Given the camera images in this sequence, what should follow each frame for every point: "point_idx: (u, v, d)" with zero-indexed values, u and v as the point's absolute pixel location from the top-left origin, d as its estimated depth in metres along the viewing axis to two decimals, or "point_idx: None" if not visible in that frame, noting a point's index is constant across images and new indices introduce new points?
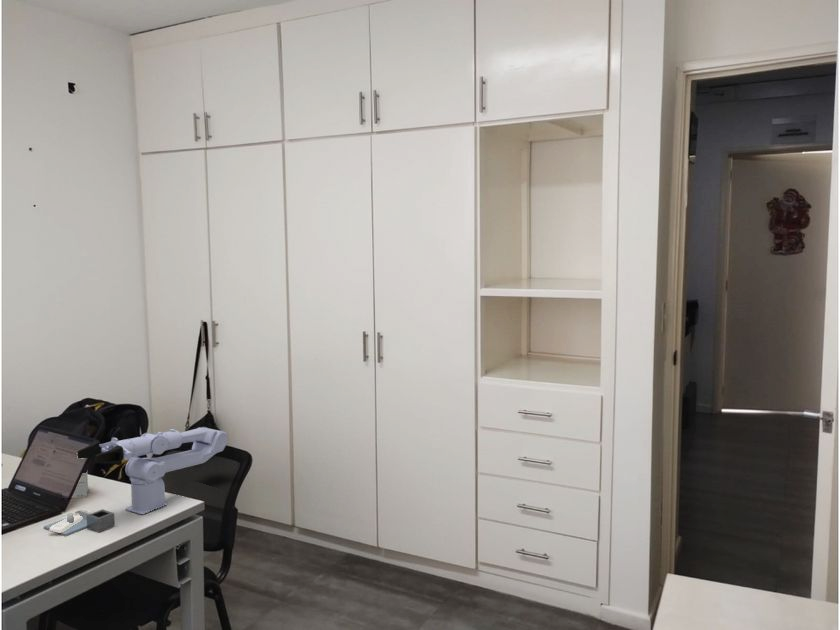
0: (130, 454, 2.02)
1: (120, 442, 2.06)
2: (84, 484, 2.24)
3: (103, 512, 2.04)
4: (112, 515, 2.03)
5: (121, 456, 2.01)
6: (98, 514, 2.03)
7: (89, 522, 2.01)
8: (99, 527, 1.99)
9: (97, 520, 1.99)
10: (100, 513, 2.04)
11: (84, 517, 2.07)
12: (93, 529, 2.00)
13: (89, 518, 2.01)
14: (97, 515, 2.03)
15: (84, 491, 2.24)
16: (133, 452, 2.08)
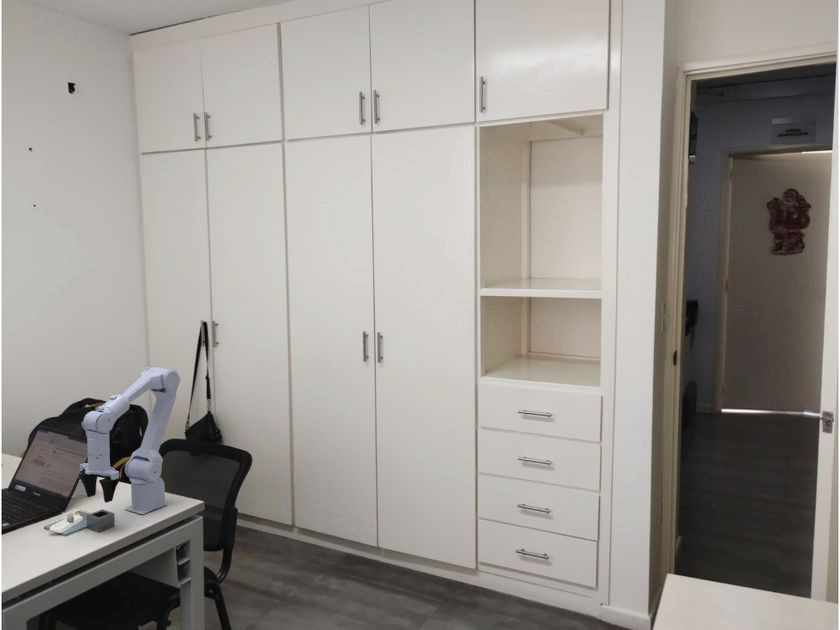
0: (114, 474, 1.97)
1: (93, 467, 1.98)
2: None
3: (103, 512, 2.04)
4: (112, 515, 2.03)
5: (113, 480, 1.98)
6: (98, 514, 2.03)
7: (89, 522, 2.01)
8: (99, 527, 1.99)
9: (97, 520, 1.99)
10: (100, 513, 2.04)
11: (84, 517, 2.07)
12: (93, 529, 2.00)
13: (89, 518, 2.01)
14: (97, 515, 2.03)
15: (84, 491, 2.24)
16: (107, 454, 1.99)
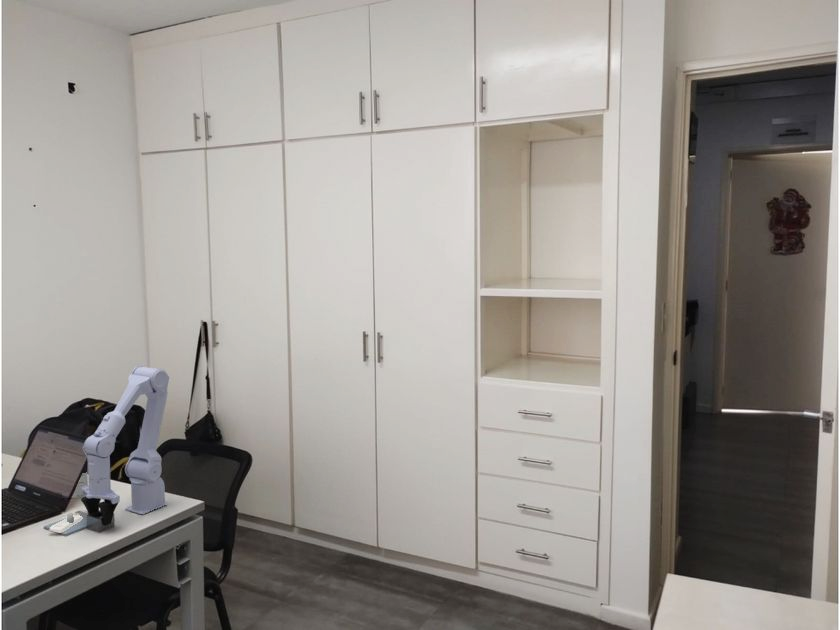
0: (115, 498, 1.97)
1: (93, 491, 1.98)
2: (84, 484, 2.24)
3: None
4: None
5: (111, 503, 1.99)
6: (98, 514, 2.03)
7: (89, 522, 2.01)
8: (99, 527, 1.99)
9: (97, 520, 1.99)
10: (100, 513, 2.04)
11: (84, 517, 2.07)
12: (93, 529, 2.00)
13: (89, 518, 2.00)
14: (97, 515, 2.03)
15: None
16: (107, 478, 2.00)
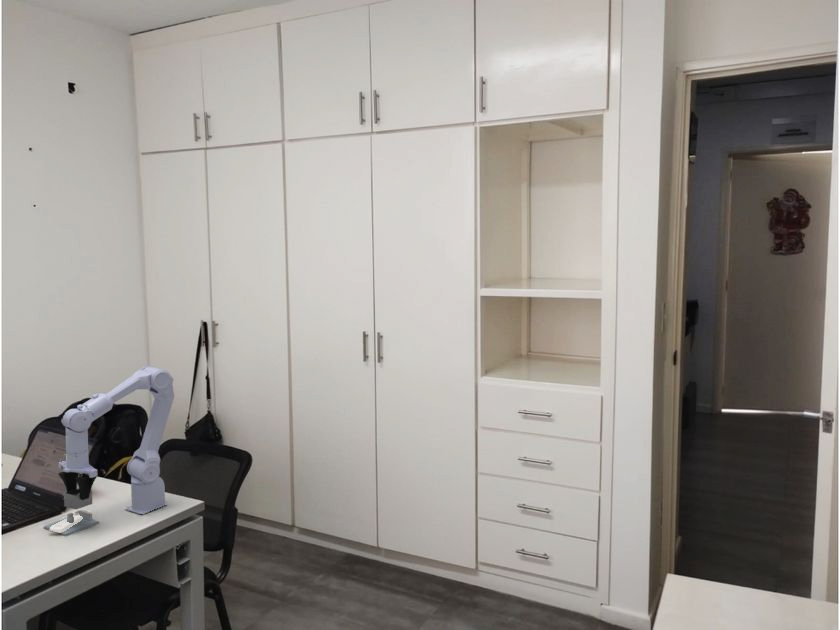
0: (93, 472, 1.97)
1: (71, 465, 1.98)
2: None
3: None
4: (90, 492, 2.02)
5: (89, 477, 1.98)
6: (76, 492, 2.03)
7: (66, 499, 2.00)
8: (76, 504, 1.98)
9: (74, 497, 1.98)
10: (78, 491, 2.03)
11: (84, 517, 2.07)
12: (70, 506, 1.99)
13: (66, 495, 2.00)
14: (74, 493, 2.02)
15: None
16: (85, 452, 1.99)
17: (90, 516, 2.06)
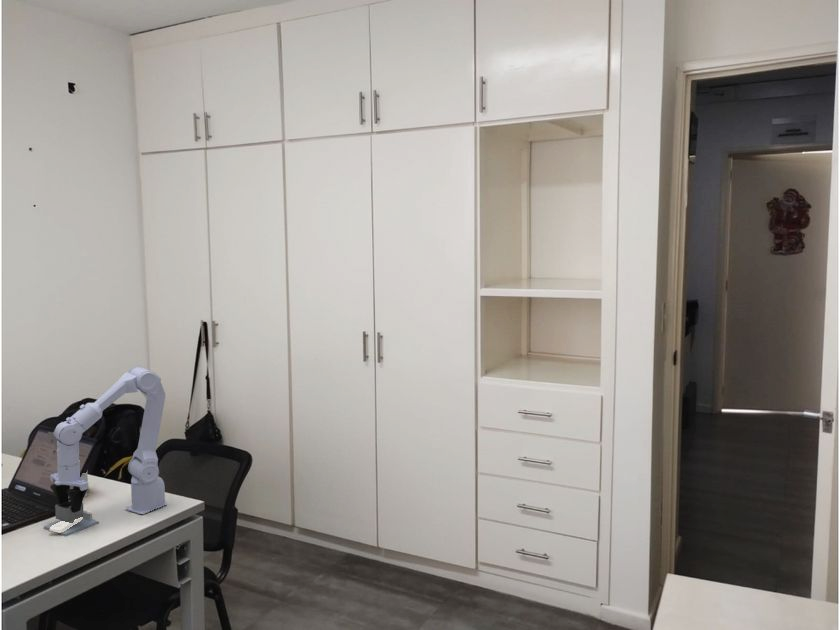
0: (84, 485, 1.97)
1: (62, 478, 1.98)
2: None
3: None
4: (81, 505, 2.02)
5: (80, 490, 1.99)
6: (67, 504, 2.03)
7: (58, 511, 2.00)
8: (67, 517, 1.99)
9: (65, 509, 1.99)
10: (69, 503, 2.04)
11: (84, 517, 2.07)
12: (61, 519, 2.00)
13: (57, 508, 2.00)
14: (66, 505, 2.03)
15: None
16: (76, 465, 2.00)
17: (90, 516, 2.06)
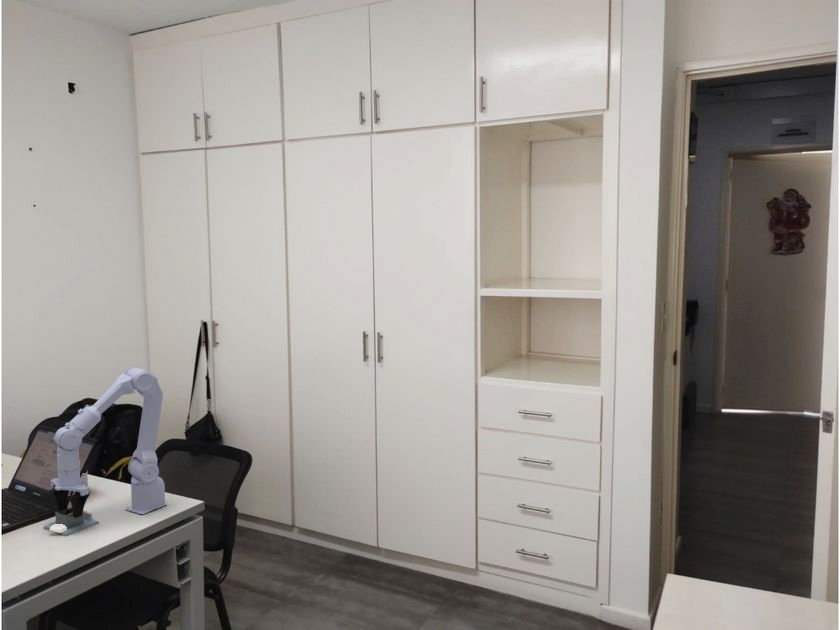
0: (84, 490, 1.98)
1: (62, 483, 1.98)
2: (84, 484, 2.24)
3: None
4: None
5: (82, 495, 1.99)
6: (67, 511, 2.04)
7: (58, 518, 2.01)
8: (67, 524, 1.99)
9: (65, 517, 1.99)
10: (69, 510, 2.04)
11: (84, 517, 2.07)
12: None
13: (57, 515, 2.01)
14: (66, 512, 2.03)
15: None
16: (76, 470, 2.00)
17: (90, 516, 2.06)
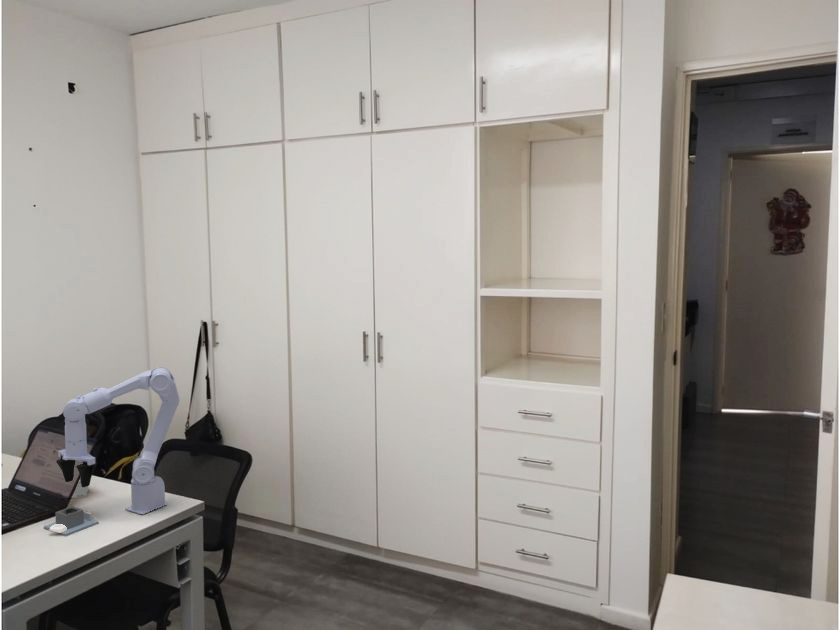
0: (91, 460, 2.04)
1: (70, 453, 2.05)
2: None
3: (72, 509, 2.04)
4: (81, 512, 2.03)
5: (89, 465, 2.06)
6: (67, 511, 2.04)
7: (58, 518, 2.01)
8: (67, 524, 1.99)
9: (65, 517, 1.99)
10: (69, 510, 2.04)
11: (84, 517, 2.07)
12: None
13: (57, 515, 2.01)
14: (66, 512, 2.03)
15: (84, 491, 2.24)
16: (83, 441, 2.07)
17: (90, 516, 2.06)
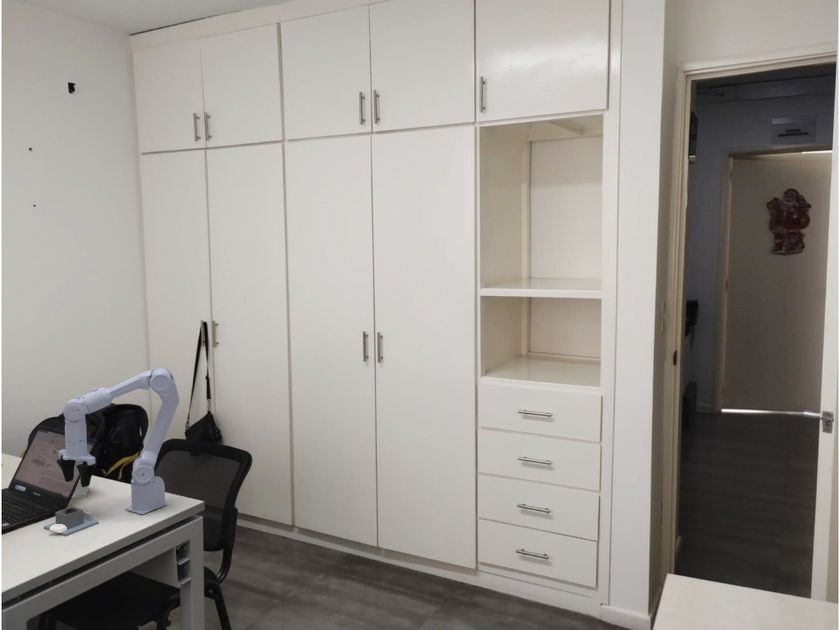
0: (91, 459, 2.04)
1: (70, 453, 2.05)
2: None
3: (72, 509, 2.04)
4: (81, 512, 2.03)
5: (89, 465, 2.06)
6: (67, 511, 2.04)
7: (58, 518, 2.01)
8: (67, 524, 1.99)
9: (65, 517, 1.99)
10: (69, 510, 2.04)
11: (84, 517, 2.07)
12: None
13: (57, 515, 2.01)
14: (66, 512, 2.03)
15: (84, 491, 2.24)
16: (83, 440, 2.07)
17: (90, 516, 2.06)
